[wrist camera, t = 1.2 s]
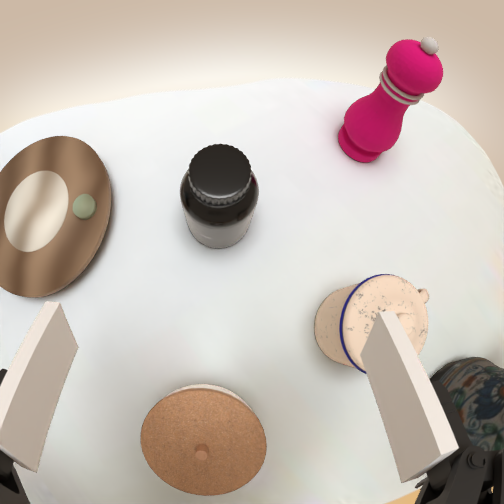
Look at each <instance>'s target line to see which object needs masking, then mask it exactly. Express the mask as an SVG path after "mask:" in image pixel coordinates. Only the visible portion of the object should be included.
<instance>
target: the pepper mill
mask: <svg viewBox="0 0 504 504" xmlns="http://www.w3.org/2000/svg"><path fill="white" fill-rule="evenodd" d="M437 51H438V44H437V42H436V41H435V40H434V39H433V38H430V37H425V38H423V39H422V40H421V42H418V41H415V40H401V41H398V42H396V43H395V44H394V45H393V46H392V47H391V48H390V49H389V51H388V53H387V56H386V63H387V65H386V66H385V67H384V69H383V71H382V72H381V73H380V77H379V78H380V84H379V85H378V87H377V88H376V89H375V91H373V92H372V93H371V94H369V95H367V96H365V97H362V98H360V99H358V100H357V101H356V102H354V103H353V104H352V105H351V106H350V107H349V109H348V110H347V111H346V114H345V117H344V124H343V126H342V127H341V129H340V131H339V134H338V140H339V144H340V146H341V148H342V149H343V151H344V152H345V153H346V154H347V155H348V156H349V157H351V158H352V159H354V160H356V161H359V162H371V161H374V160H375V159H376V158H377V157H378V156H379V155H380V154H381V153H382V152H383V151H387V150H388V149H390V148H391V147H392V146H393V145H394V144H395V142H396V141H397V139H398V137H399V135H400V132H401V127H402V121H403V116H404V113H405V111H406V110H407V108H408V107H409V106H410V105H415V104H417V103H418V102H419V100H420V99H421V98H422V97H423V96H424V93H429V92H432V91H434V90H435V89H436V88H437V87H438V85H439V84H440V83H441V80H442V77H443V68H442V64H441V62H440V60H439V58H438V57H437V55H436V54H435V53H436V52H437Z"/></svg>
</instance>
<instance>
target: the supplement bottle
mask: <svg viewBox="0 0 504 504" xmlns="http://www.w3.org/2000/svg"><path fill="white" fill-rule="evenodd" d="M258 195H259V188H258V183H257V179H256V177H255V175H254V173H253V172H252V170H251V165H250V164H249V160H248V159H247V157H246V156H245V155H244V154H243V152H242V151H239V149H238V148H234V147H233V146H229V145H227V144H225V145H223V144H218V145H217V144H214V145H212V146H211V145H210V146H208V147H206V148H203V149H202V150H200V151H199V152H198V153H197V154H195V156H194V158H193V159H192V160H191V163H190V165H189V169H188V170H187V172H186V173H185V175H184V177H183V179H182V182H181V186H180V198H181V203H182V206H183V210H184V213H185V217H186V220H187V223H188V227H189V229H190V231H191V233H192V235H193V236H194V237H195V238H196V239H197V240H198V241H199V242H200V243H202V244H203V245H205V246H208V247H211V248H225V247H229V246H232V245H234V244H235V243H237V242H238V241H239V240H241V238H242V237H243V236H244V235H245V233H246V232H247V229H248V227H249V224H250V222H251V219H252V216H253V213H254V210H255V207H256V204H257V200H258Z"/></svg>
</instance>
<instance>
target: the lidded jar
mask: <svg viewBox="0 0 504 504" xmlns="http://www.w3.org/2000/svg"><path fill="white" fill-rule="evenodd" d="M141 447H142V451H143V454H144V457H145V459H146V461H147V463H148V464H149V466H150V467H151V469H152V470H153V471H154V472H155V474H157V475H158V476H159V477H160V478H161V479H162V480H163V481H165V482H166V483H168V484H169V485H171V486H173V487H175V488H177V489H179V490H181V491H184V492H187V493H191V494H196V495H205V496H207V495H219V494H225V493H228V492H231V491H234V490H236V489H238V488H240V487H242V486H244V485H245V484H247V483H248V482H249V481H250V480H251V479H252V478H253V477H255V475H256V474H257V473H258V471H259V470H260V468H261V466H262V464H263V462H264V459H265V455H266V447H267V446H266V437H265V434H264V430H263V427H262V425H261V423H260V421H259V419H258V418H257V417H256V415H255V413H254V412H253V411H252V409H251V408H250V406H249V405H248V404H247V403H246V402H245V401H244V400H243V399H242V398H240V397H239V396H238V395H236V394H235V393H233V392H231V391H229V390H227V389H225V388H222V387H219V386H215V385H209V384H194V385H189V386H185V387H182V388H179V389H177V390H175V391H173V392H171V393H169V394H168V395H167V396H166V397H164V398H163V399H162V400H160V401H159V402H158V403H157V404H156V405H155V406H154V407H153V408H152V409H151V410H150V411H149V413H148V415H147V416H146V418H145V420H144V423H143V425H142V430H141Z"/></svg>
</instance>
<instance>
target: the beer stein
mask: <svg viewBox="0 0 504 504" xmlns="http://www.w3.org/2000/svg"><path fill="white" fill-rule="evenodd" d="M438 380H439V381H440V382H441V383H442V384H443V385H444V386H445V388H446V389H447V390H448V392H449V394H450V396H451V398H452V402H453V403H454V405H455V407H456V411H458V414H459V416H460V418H461V420H462V423H463V425H464V427H465V430H466V432H467V434H468V437H469V439H470V441H471V443H472V444H473V445H474V446H479V447H480V448H482V449H483V450H484V451H494V450H502V449H503V448H504V369H502V368H499V367H498V366H496V365H494V364H493V363H492V362H490V361H489V360H487V359H485V358H481V357H471V358H466V359H463V360H459V361H456V362H452V363H448V364H446V365H445V366H444V367H443V368H441V369H440V370H439V371H437V372H436V373H435V374H434V375H433V376H432V378H431V379H430V382H433V381H438Z"/></svg>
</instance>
